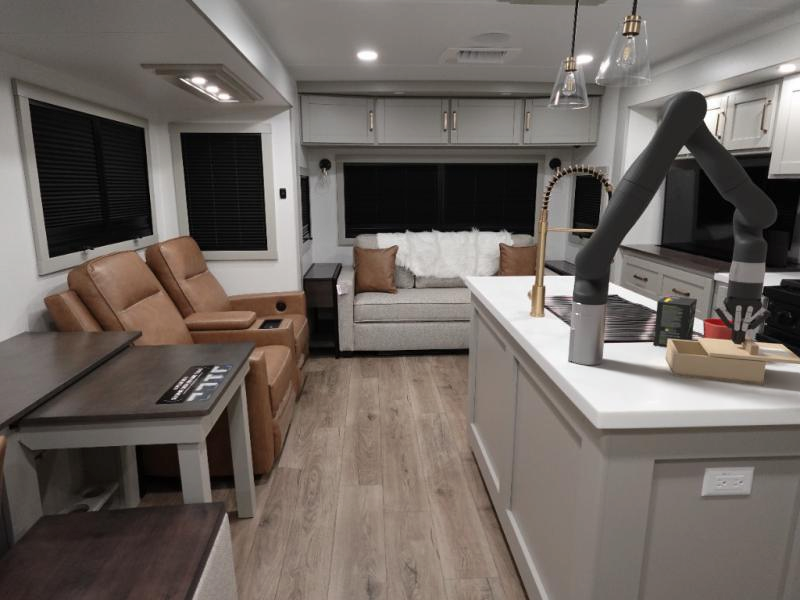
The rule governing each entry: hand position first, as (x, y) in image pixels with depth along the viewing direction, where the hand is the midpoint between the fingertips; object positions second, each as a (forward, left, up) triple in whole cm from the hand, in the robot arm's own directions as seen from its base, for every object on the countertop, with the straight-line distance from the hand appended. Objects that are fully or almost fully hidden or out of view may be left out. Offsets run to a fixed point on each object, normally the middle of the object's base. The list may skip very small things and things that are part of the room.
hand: (737, 343), depth 135 cm
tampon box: (-11, +24, -8) cm, 28 cm away
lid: (+2, 0, -2) cm, 3 cm away
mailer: (-5, 0, -8) cm, 10 cm away
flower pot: (+1, +18, -8) cm, 20 cm away
